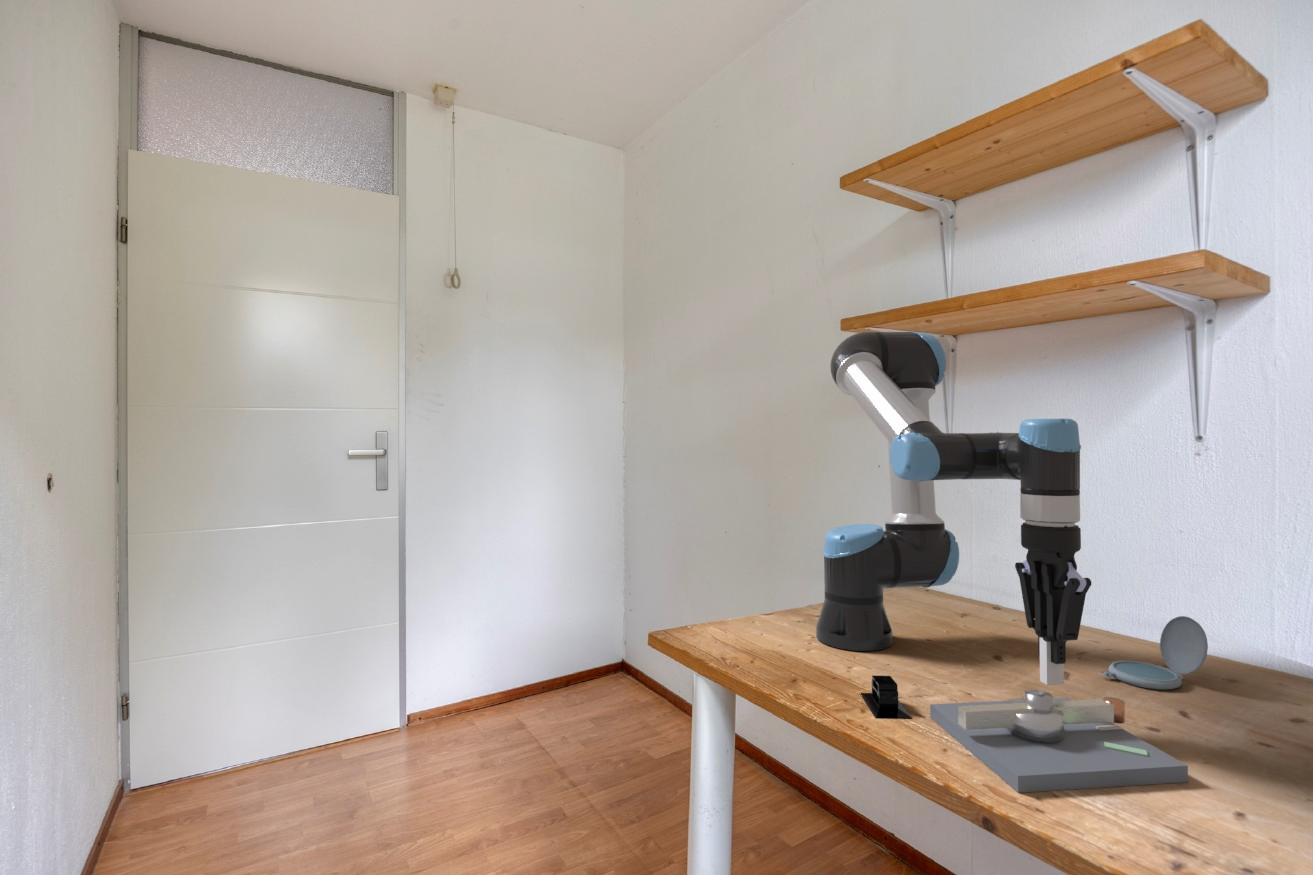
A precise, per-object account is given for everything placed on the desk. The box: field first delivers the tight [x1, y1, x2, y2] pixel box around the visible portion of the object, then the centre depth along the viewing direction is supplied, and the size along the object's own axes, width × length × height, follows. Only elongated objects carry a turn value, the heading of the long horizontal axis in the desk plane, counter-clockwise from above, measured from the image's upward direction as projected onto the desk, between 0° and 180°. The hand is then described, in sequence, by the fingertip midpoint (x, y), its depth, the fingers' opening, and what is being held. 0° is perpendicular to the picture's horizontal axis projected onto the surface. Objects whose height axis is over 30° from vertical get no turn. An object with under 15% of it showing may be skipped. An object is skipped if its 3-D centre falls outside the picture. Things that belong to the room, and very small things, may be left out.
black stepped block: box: [859, 675, 914, 720], centre depth 100 cm, size 12×7×5 cm, turn 177°
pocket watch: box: [1098, 615, 1209, 691], centre depth 109 cm, size 10×11×15 cm
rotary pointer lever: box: [958, 688, 1126, 742], centre depth 86 cm, size 7×23×5 cm, turn 95°
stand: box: [929, 697, 1189, 794], centre depth 86 cm, size 20×22×2 cm
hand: (1052, 682), depth 94 cm, fingers closed
